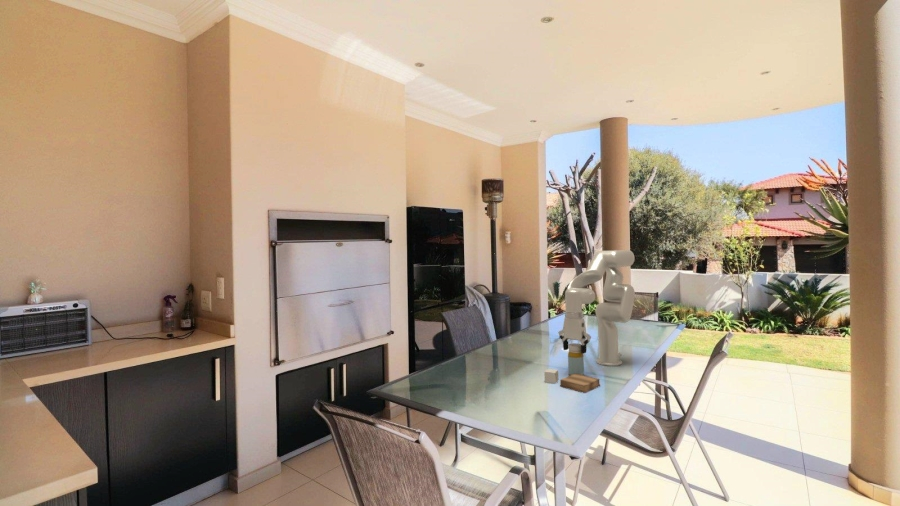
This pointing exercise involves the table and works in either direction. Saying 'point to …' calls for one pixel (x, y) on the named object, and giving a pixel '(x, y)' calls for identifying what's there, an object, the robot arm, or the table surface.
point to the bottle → (575, 359)
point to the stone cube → (551, 376)
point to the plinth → (579, 383)
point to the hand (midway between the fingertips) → (574, 351)
